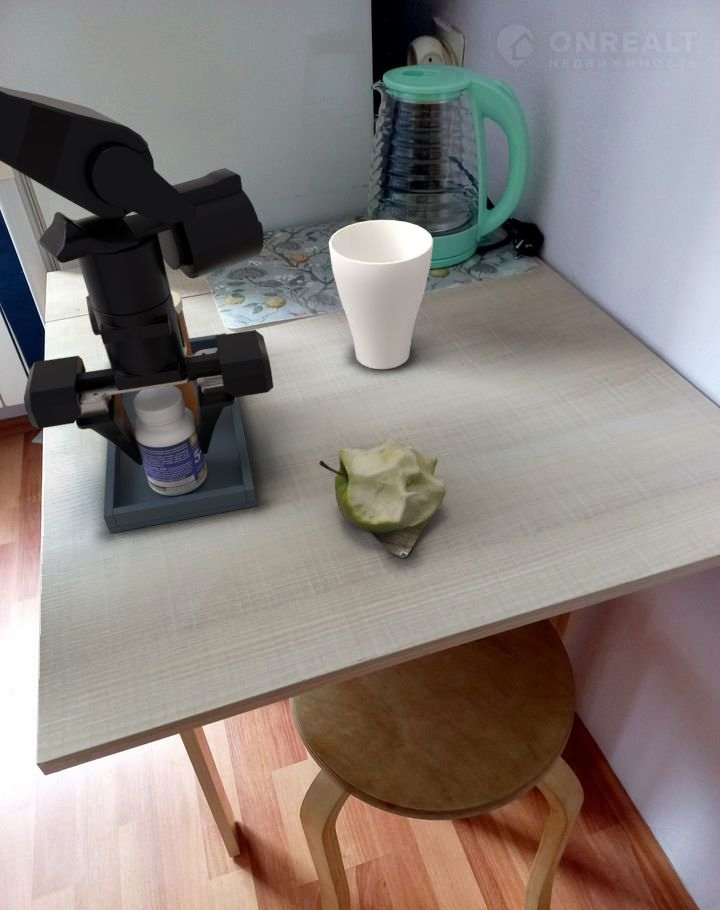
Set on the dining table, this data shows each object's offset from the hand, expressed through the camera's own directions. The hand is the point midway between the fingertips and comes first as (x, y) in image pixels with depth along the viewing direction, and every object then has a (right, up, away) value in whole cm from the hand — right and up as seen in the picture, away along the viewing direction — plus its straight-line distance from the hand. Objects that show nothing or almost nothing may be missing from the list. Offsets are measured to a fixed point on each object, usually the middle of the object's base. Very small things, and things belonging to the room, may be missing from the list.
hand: (173, 456), depth 62 cm
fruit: (+19, -5, -1) cm, 19 cm away
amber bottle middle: (-2, +3, +8) cm, 9 cm away
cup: (+19, +11, +17) cm, 28 cm away
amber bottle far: (-4, +9, +14) cm, 17 cm away
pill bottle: (0, -2, +2) cm, 3 cm away
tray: (-2, +3, +8) cm, 9 cm away
